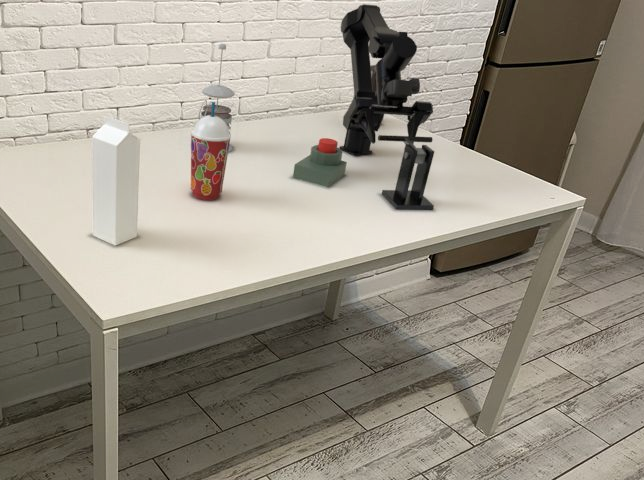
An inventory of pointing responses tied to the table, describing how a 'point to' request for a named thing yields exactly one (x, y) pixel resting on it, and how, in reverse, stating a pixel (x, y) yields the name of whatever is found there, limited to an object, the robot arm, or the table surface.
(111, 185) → the milk
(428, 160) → the black stand
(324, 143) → the button
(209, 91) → the french press
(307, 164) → the control block
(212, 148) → the smoothie
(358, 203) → the table surface
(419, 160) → the lever
